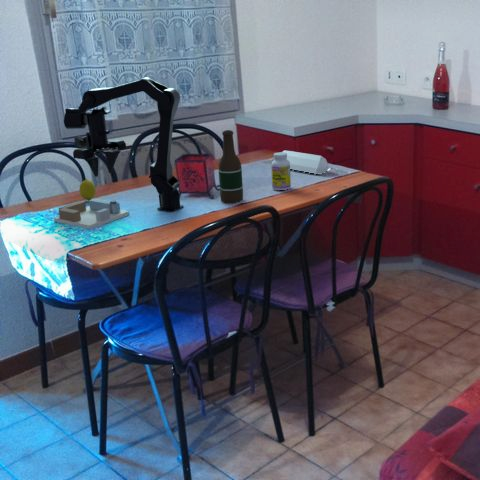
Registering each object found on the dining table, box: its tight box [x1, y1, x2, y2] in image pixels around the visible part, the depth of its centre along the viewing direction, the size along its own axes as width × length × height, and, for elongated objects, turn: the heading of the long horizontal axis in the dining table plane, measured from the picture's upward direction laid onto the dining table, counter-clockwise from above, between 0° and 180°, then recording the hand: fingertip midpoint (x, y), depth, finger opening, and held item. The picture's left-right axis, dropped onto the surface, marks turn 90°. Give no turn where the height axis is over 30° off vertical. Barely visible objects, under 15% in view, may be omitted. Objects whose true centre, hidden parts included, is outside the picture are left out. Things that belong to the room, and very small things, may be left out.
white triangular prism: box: [282, 150, 329, 175], centre depth 270 cm, size 7×7×24 cm
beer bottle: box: [218, 129, 244, 204], centre depth 231 cm, size 8×8×24 cm
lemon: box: [79, 178, 97, 202], centre depth 244 cm, size 6×6×8 cm
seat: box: [53, 200, 130, 230], centre depth 224 cm, size 18×17×4 cm
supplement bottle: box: [270, 151, 292, 191], centre depth 244 cm, size 7×7×13 cm
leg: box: [88, 198, 121, 214], centre depth 227 cm, size 12×3×4 cm, turn 53°
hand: (103, 174), depth 231 cm, fingers open, 6 cm apart
